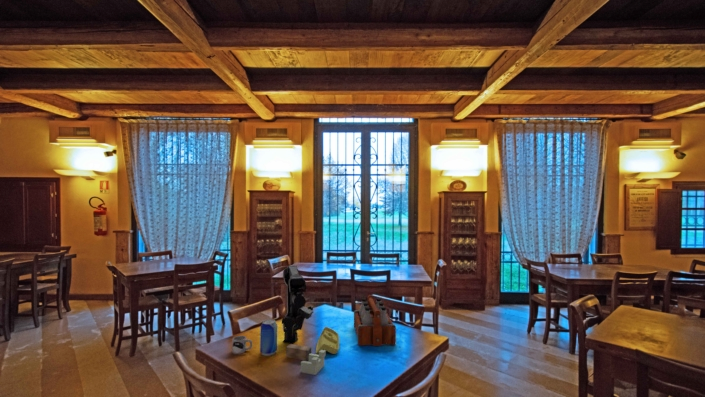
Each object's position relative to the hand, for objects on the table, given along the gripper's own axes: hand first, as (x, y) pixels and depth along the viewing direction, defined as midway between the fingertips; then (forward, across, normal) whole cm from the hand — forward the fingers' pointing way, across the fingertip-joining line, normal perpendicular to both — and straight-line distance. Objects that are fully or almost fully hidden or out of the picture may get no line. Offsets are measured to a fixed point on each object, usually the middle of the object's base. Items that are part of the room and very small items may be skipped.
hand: (295, 332), depth 162 cm
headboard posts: (+12, -8, -13) cm, 19 cm away
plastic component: (+12, +16, -11) cm, 23 cm away
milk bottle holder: (+12, +41, -30) cm, 52 cm away
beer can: (+12, -1, +15) cm, 19 cm away
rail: (+12, 0, -2) cm, 12 cm away
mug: (+12, -4, +29) cm, 32 cm away
